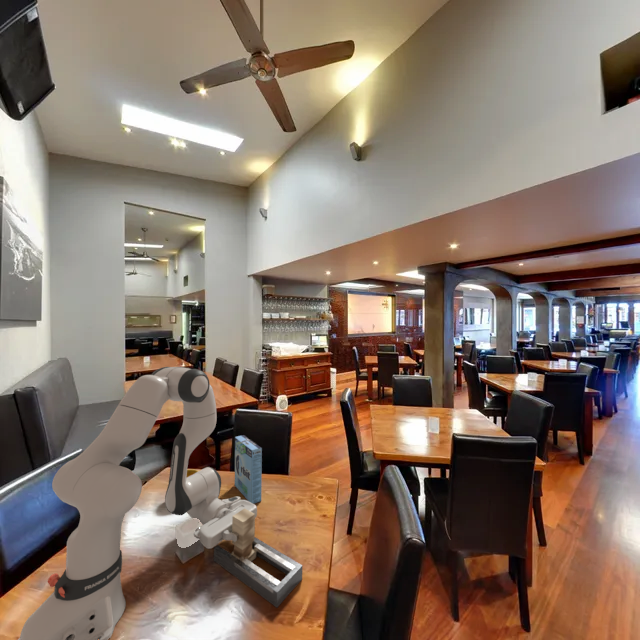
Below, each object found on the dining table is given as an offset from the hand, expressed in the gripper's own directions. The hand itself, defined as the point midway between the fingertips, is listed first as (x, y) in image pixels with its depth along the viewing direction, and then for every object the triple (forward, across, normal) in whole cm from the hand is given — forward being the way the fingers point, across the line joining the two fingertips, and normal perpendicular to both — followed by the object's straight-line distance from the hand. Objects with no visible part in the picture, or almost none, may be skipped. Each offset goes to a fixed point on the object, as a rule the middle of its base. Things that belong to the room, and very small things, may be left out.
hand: (245, 532), depth 94 cm
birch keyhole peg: (-1, 0, +9) cm, 9 cm away
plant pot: (-48, +9, +9) cm, 50 cm away
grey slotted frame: (+5, 0, +9) cm, 10 cm away
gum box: (-29, +27, +9) cm, 41 cm away
